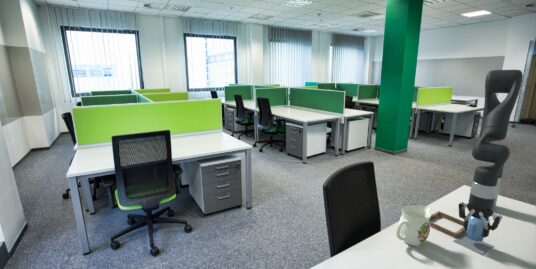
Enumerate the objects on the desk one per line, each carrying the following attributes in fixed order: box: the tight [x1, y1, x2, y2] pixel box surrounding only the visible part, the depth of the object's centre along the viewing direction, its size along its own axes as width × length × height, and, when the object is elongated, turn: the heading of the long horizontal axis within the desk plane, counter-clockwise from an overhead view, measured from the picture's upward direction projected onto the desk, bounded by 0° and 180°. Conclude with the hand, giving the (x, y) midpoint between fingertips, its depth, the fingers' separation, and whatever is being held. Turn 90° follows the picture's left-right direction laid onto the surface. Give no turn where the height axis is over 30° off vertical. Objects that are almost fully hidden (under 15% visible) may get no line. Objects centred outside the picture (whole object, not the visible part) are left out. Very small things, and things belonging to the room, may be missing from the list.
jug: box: [465, 216, 487, 242], centre depth 105 cm, size 8×6×9 cm
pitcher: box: [395, 205, 432, 247], centre depth 107 cm, size 11×18×14 cm, turn 116°
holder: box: [429, 210, 467, 239], centre depth 120 cm, size 14×14×2 cm
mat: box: [453, 233, 495, 256], centre depth 107 cm, size 10×10×1 cm
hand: (475, 232), depth 106 cm, fingers closed on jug, 5 cm apart
